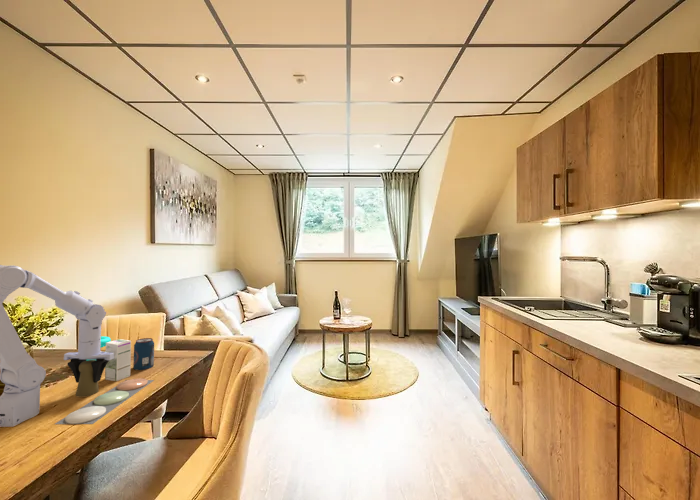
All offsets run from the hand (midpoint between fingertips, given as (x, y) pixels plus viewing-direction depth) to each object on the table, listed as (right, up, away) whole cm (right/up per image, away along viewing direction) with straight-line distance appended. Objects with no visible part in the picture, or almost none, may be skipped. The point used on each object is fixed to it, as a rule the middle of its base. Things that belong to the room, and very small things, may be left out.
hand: (88, 381), depth 105 cm
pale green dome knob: (+11, -4, -4) cm, 12 cm away
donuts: (-23, -5, +32) cm, 40 cm away
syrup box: (0, -5, +13) cm, 14 cm away
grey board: (+11, -5, -4) cm, 12 cm away
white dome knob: (+11, -4, -14) cm, 19 cm away
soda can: (+3, -5, +24) cm, 25 cm away
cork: (0, -5, 0) cm, 5 cm away
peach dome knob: (+10, -4, +7) cm, 13 cm away
